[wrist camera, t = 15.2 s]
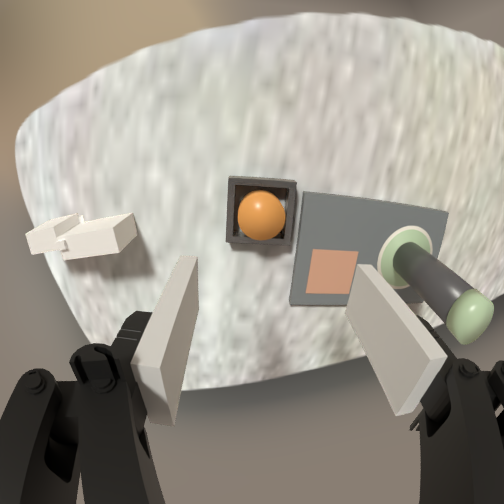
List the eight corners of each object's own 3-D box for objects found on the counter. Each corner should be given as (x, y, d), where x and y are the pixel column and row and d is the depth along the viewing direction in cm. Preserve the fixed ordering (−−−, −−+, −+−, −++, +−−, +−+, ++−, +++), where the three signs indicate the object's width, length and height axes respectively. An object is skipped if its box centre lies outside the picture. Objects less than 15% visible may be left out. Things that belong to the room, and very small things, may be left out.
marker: (425, 242, 27) (500, 299, 15) (416, 275, 29) (480, 341, 17) (396, 239, 27) (472, 302, 15) (387, 274, 29) (450, 347, 17)
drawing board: (444, 210, 27) (449, 213, 26) (419, 299, 31) (423, 303, 30) (303, 191, 26) (305, 193, 25) (288, 300, 30) (290, 305, 30)
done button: (283, 191, 25) (287, 196, 23) (279, 232, 26) (282, 241, 24) (239, 188, 25) (239, 193, 23) (237, 230, 26) (236, 239, 24)
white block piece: (164, 208, 27) (146, 226, 21) (126, 292, 30) (107, 320, 25) (57, 147, 23) (25, 152, 18) (33, 231, 27) (6, 248, 21)
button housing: (293, 180, 25) (296, 182, 24) (287, 240, 28) (289, 245, 26) (229, 175, 25) (228, 177, 24) (226, 236, 27) (225, 242, 26)
